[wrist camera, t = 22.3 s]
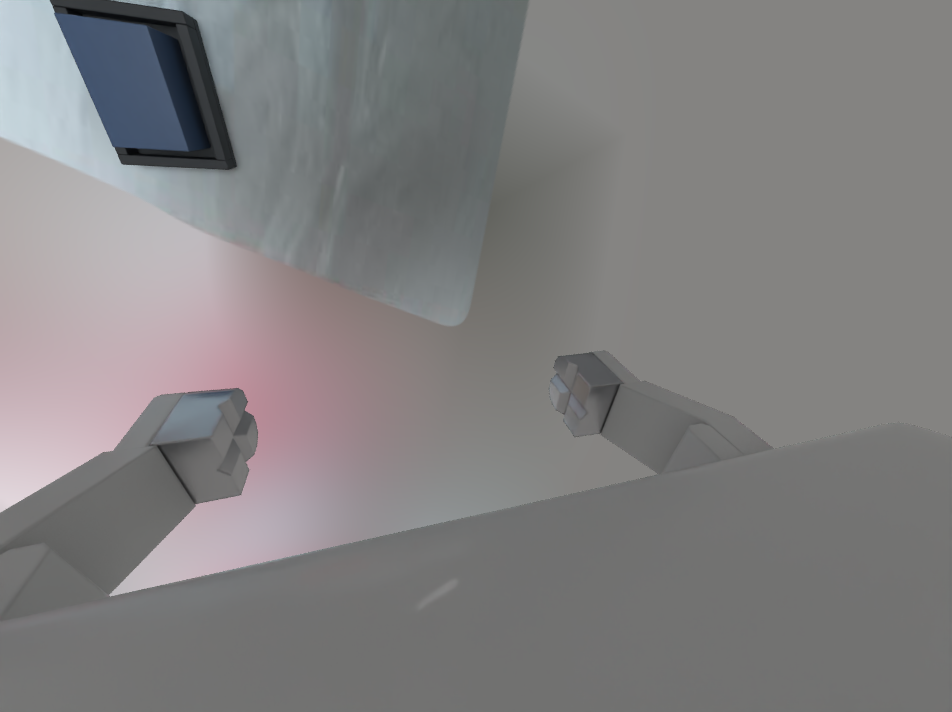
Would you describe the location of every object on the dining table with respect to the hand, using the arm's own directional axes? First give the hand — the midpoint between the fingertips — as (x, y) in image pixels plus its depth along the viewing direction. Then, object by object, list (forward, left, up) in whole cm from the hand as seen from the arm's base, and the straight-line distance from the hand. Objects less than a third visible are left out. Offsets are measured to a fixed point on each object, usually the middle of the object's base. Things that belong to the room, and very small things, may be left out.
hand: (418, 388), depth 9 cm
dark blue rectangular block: (-7, -14, -26) cm, 31 cm away
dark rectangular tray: (-7, -14, -27) cm, 31 cm away
